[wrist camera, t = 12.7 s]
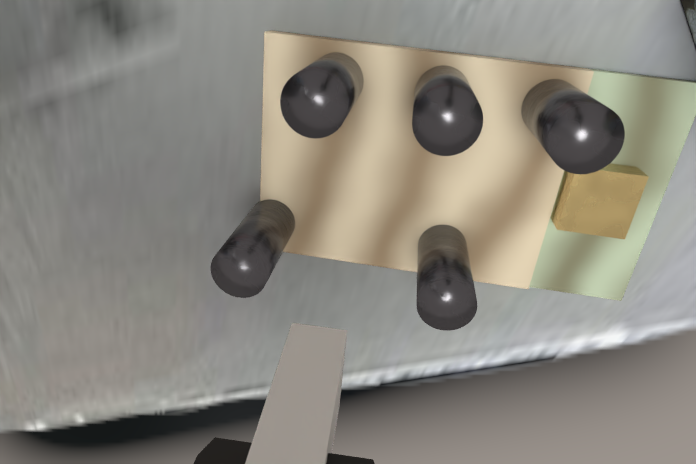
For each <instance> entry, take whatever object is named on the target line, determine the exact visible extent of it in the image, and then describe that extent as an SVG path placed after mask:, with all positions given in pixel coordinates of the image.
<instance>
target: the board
mask: <svg viewBox="0 0 696 464" xmlns="http://www.w3.org/2000/svg"><path fill="white" fill-rule="evenodd" d="M333 52H339V53H344V54H347V55H349V56H350V57H352V58H353V59H354V60H355V61H356V62H357V63H358V65H359V66H360V68H361V70H362V73H363V80H364V82H363V89H362V92H361V94H360V96H359V97H358V99H357V101H356V102H355V104H354V106H353V107H352V109H351V111H350V112H349V114H348V116H347V117H346V119H345V121H344V122H343V124H342V125H341V127H340V128H339V129H338V130H337V131H336V132H334V133H333V134H331V135H329V136H327V137H324V138H317V139H314V138H307V137H304V136H302V135H300V134H298V133H297V132H295V131H294V130H293V129H292V128H291V127H290V126H289V125H288V124H287V122H286V121H285V119H284V117H283V115H282V111H281V106H280V98H281V93H282V90H283V87H284V85H285V84H286V82H287V81H288V80H289V79H290V78H291V77H292V76H293V75H294V74H296V73H297V72H299V71H301V70H302V69H304V68H305V67H307V66H308V65H310V64H311V63H313V62H314V61H316V60H317V59H319V58H320V57H322V56H324V55H326V54H328V53H333ZM442 65H445V66H451V67H454V68H456V69H458V70H459V71H461V72H462V73H463V74H464V76H465V77H466V79H467V80H468V82H469V84H470V86H471V88H472V90H473V92H474V94H475V96H476V98H477V100H478V102H479V104H480V106H481V109H482V112H483V127H482V130H481V133H480V135H479V137H478V139H477V140H476V141H475V143H474V144H473V145H472V146H471V147H470V148H468V149H467V150H465V151H464V152H462V153H459V154H456V155H452V156H439V155H435V154H432V153H430V152H428V151H427V150H425V149H424V148H423V147H422V146H421V145H420V144H419V143H418V141H417V140H416V138H415V136H414V133H413V128H412V116H413V103H414V91H415V86H416V84H417V82H418V80H419V78H420V77H421V76H422V75H423V74H424V73H425V72H426V71H427V70H429V69H431V68H433V67H436V66H442ZM549 79H560V80H564V81H566V82H568V83H570V84H572V85H573V86H575V87H576V88H578V89H580V90H581V91H583V92H584V93H586V94H588V95H589V96H591V97H592V98H594V99H596V100H597V101H599V102H600V103H602V104H604V105H605V106H607V107H608V108H610V109H611V110H613V111H614V112H615V113H616V114H617V115H618V116H619V117H620V118H621V120H622V122H623V125H624V130H625V138H624V143H623V146H622V148H621V150H620V152H619V154H618V155H617V157H616V158H615V159H614V160H613V161H612V162H611V163H612V164H619V165H627V166H634V167H638V168H639V169H640V170H641V171H643V172H644V173H645V174H646V175H648V176H649V178H648V180H647V183H646V186H645V188H644V191H643V194H642V196H641V199H640V201H639V204H638V207H637V209H636V212H635V214H634V217H633V220H632V222H631V225H630V228H629V230H628V233H627V235H626V238H625V239H618V238H611V237H604V236H597V235H590V234H583V233H576V232H569V231H562V230H557V229H556V227H555V225H554V224H553V222H552V220H551V218H550V217H551V214H552V211H553V208H554V204H555V201H556V198H557V194H558V191H559V188H560V184H561V181H562V178H563V175H564V171H565V170H563V169H561V168H560V167H559V166H557V165H556V163H555V162H554V161H553V160H552V158H551V157H550V156H549V154H548V153H547V152H546V151H545V149H544V148H543V147H542V145H541V144H540V143H539V142H538V140H537V139H536V138H535V136H534V135H533V134H532V132H531V131H530V130H529V129H528V127H527V126H526V125H525V123H524V121H523V119H522V114H521V108H522V103H523V100H524V98H525V96H526V94H527V93H528V92H529V91H530V90H531V89H532V88H533V87H534V86H535V85H537V84H538V83H540V82H542V81H545V80H549ZM695 116H696V81H688V80H679V79H671V78H663V77H654V76H646V75H638V74H629V73H621V72H612V71H604V70H596V69H587V68H579V67H571V66H562V65H554V64H546V63H537V62H529V61H521V60H512V59H504V58H496V57H487V56H479V55H471V54H462V53H454V52H446V51H437V50H429V49H421V48H412V47H404V46H396V45H387V44H379V43H371V42H362V41H354V40H346V39H337V38H329V37H321V36H312V35H304V34H296V33H287V32H279V31H266V32H265V33H264V71H263V110H262V148H261V187H260V201H263V200H267V199H272V200H277V201H280V202H282V203H283V204H285V205H286V206H287V207H288V208H289V209H290V210H291V211H292V213H293V215H294V218H295V229H294V232H293V234H292V236H291V237H290V239H289V241H288V243H287V245H286V247H285V249H284V250H283V252H288V253H295V254H301V255H308V256H314V257H321V258H327V259H334V260H340V261H347V262H353V263H360V264H367V265H373V266H380V267H386V268H393V269H399V270H406V271H412V272H417V260H418V241H419V238H420V236H421V235H422V234H423V232H424V231H426V230H427V229H428V228H430V227H432V226H435V225H450V226H453V227H455V228H457V229H458V230H459V231H460V232H461V233H462V234H463V235H464V237H465V239H466V243H467V249H468V254H469V260H470V266H471V271H472V277H473V281H478V282H484V283H491V284H497V285H504V286H511V287H517V288H524V289H529V287H534V288H541V289H547V290H554V291H560V292H567V293H573V294H580V295H587V296H593V297H600V298H606V299H613V300H619V301H621V300H622V298H623V295H624V293H625V290H626V288H627V285H628V283H629V280H630V278H631V275H632V273H633V270H634V268H635V265H636V263H637V260H638V258H639V255H640V253H641V250H642V248H643V246H644V243H645V241H646V238H647V236H648V233H649V231H650V228H651V226H652V223H653V221H654V218H655V216H656V213H657V211H658V208H659V206H660V203H661V201H662V198H663V196H664V193H665V191H666V188H667V186H668V183H669V181H670V178H671V176H672V173H673V171H674V168H675V166H676V163H677V161H678V158H679V156H680V153H681V151H682V148H683V146H684V143H685V141H686V138H687V136H688V133H689V131H690V128H691V126H692V123H693V121H694V118H695Z"/></svg>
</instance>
